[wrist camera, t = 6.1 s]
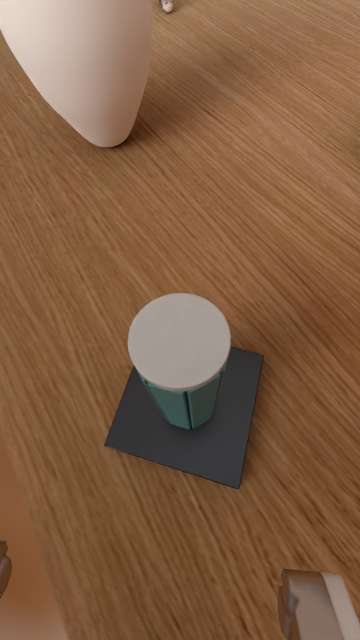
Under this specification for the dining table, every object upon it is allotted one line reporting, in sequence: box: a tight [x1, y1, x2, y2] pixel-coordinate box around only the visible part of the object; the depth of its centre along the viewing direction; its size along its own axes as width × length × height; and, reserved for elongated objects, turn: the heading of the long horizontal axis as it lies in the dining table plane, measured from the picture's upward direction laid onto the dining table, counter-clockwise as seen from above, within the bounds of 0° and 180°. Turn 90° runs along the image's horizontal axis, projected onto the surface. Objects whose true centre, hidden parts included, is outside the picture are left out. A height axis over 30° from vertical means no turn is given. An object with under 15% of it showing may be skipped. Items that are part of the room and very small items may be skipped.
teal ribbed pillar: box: [128, 293, 232, 429], centre depth 18 cm, size 4×4×12 cm
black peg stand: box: [104, 347, 264, 489], centre depth 22 cm, size 10×10×7 cm
